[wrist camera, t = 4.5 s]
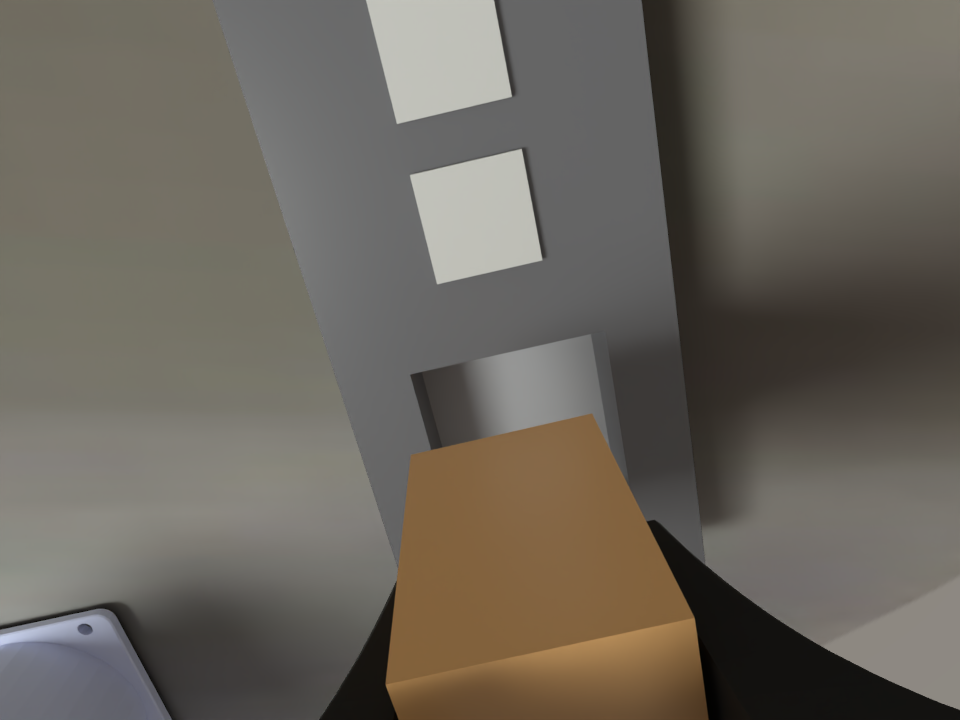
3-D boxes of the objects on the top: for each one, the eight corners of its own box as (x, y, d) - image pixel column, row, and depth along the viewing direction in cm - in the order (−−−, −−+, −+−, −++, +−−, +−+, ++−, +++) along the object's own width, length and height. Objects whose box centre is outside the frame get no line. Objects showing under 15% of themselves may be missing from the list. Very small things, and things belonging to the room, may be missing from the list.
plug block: (464, 630, 15) (474, 920, 10) (410, 454, 14) (385, 685, 8) (625, 594, 15) (729, 868, 10) (592, 413, 14) (694, 617, 8)
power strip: (425, 580, 24) (421, 646, 21) (238, -21, 17) (192, -54, 14) (675, 526, 23) (709, 586, 20) (593, -109, 16) (626, -162, 13)
